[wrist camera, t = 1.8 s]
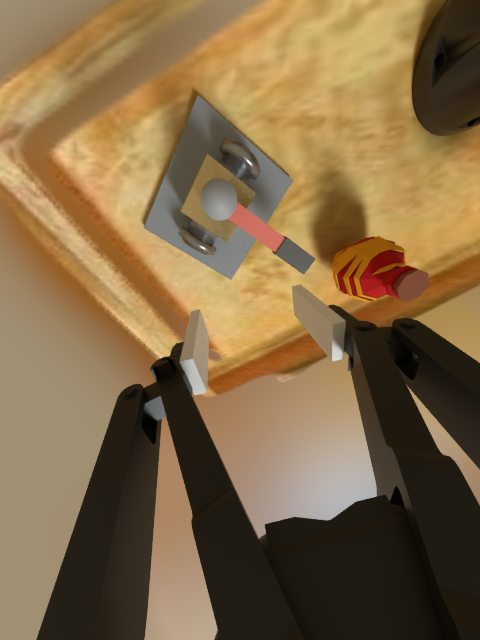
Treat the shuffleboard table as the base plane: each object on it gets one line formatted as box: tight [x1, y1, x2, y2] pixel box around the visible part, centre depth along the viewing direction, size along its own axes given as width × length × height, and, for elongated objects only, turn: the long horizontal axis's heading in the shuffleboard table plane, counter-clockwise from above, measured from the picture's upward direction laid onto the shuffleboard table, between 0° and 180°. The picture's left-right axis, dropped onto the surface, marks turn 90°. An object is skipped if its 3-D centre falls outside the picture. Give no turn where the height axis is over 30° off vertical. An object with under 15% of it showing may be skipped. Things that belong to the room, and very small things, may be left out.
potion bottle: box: [331, 236, 429, 302], centre depth 32 cm, size 10×10×15 cm
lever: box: [201, 178, 315, 274], centre depth 25 cm, size 16×4×2 cm, turn 57°
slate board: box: [144, 95, 293, 279], centre depth 31 cm, size 18×16×1 cm
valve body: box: [178, 138, 261, 255], centre depth 28 cm, size 14×7×8 cm, turn 148°
